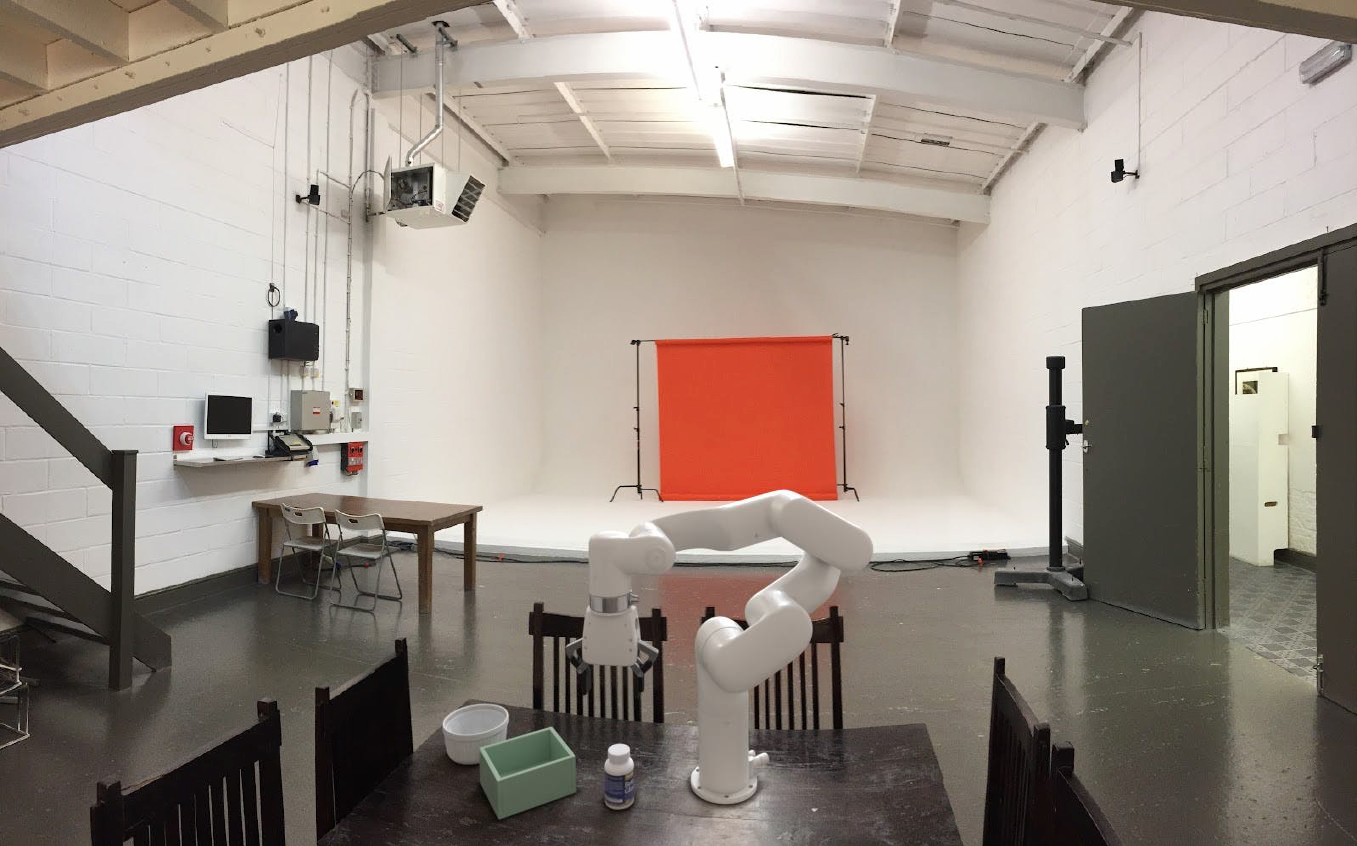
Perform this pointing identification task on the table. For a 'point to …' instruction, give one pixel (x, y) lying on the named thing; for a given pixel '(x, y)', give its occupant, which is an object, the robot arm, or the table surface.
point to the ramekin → (473, 731)
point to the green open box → (527, 771)
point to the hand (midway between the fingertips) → (612, 693)
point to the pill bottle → (619, 777)
